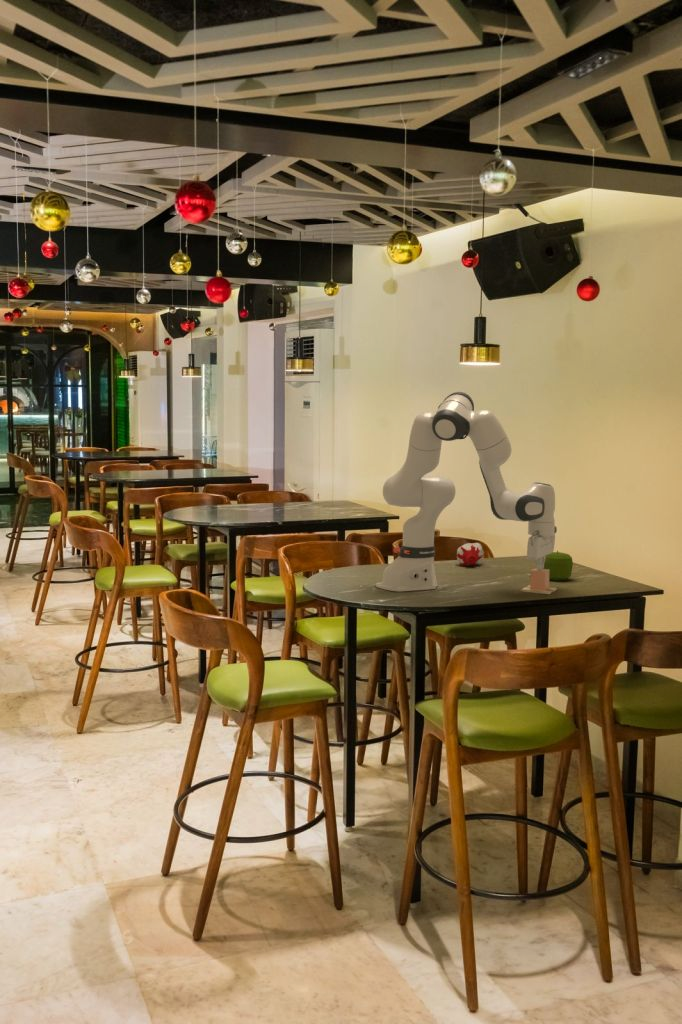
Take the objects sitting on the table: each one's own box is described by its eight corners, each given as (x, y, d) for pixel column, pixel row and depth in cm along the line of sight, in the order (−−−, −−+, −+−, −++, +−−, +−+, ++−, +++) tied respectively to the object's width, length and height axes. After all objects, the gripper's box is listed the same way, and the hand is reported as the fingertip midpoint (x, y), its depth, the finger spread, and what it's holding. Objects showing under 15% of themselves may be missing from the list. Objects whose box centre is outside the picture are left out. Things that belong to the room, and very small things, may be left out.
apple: (576, 581, 336) (578, 552, 335) (549, 582, 334) (549, 552, 333) (564, 576, 347) (565, 548, 346) (537, 577, 345) (538, 548, 344)
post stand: (549, 594, 312) (550, 575, 311) (520, 591, 316) (521, 573, 316) (557, 589, 320) (558, 571, 320) (529, 586, 325) (530, 569, 325)
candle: (481, 561, 379) (486, 571, 364) (453, 560, 379) (457, 571, 364) (482, 540, 377) (487, 550, 362) (454, 539, 377) (458, 549, 362)
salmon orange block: (544, 590, 315) (545, 571, 314) (529, 589, 317) (530, 570, 317) (548, 588, 319) (549, 569, 319) (534, 586, 322) (534, 568, 321)
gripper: (541, 533, 305) (540, 574, 307) (558, 527, 323) (557, 566, 325) (522, 532, 308) (521, 572, 310) (540, 526, 326) (539, 564, 328)
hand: (539, 569), depth 317 cm, fingers closed
